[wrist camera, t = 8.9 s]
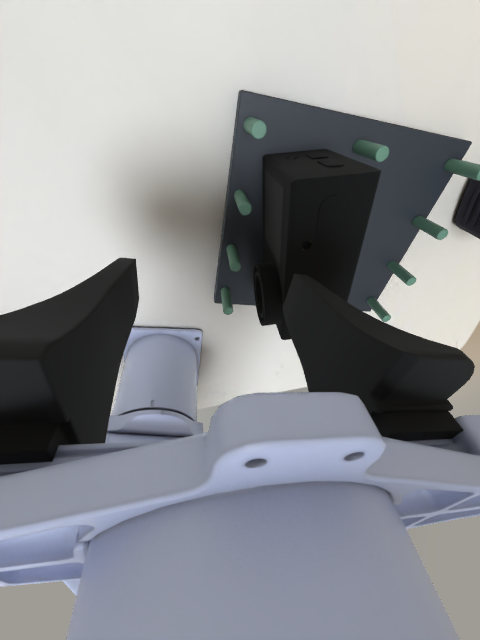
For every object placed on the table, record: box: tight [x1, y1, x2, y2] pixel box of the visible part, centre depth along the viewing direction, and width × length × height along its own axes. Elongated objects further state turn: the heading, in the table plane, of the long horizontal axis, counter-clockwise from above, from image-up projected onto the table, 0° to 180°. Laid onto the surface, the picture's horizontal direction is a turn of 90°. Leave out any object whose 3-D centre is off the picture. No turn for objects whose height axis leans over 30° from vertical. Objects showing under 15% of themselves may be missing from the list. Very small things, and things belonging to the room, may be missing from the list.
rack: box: [214, 90, 480, 322], centre depth 20 cm, size 15×16×4 cm
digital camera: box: [253, 149, 381, 340], centre depth 18 cm, size 10×5×7 cm, turn 3°
